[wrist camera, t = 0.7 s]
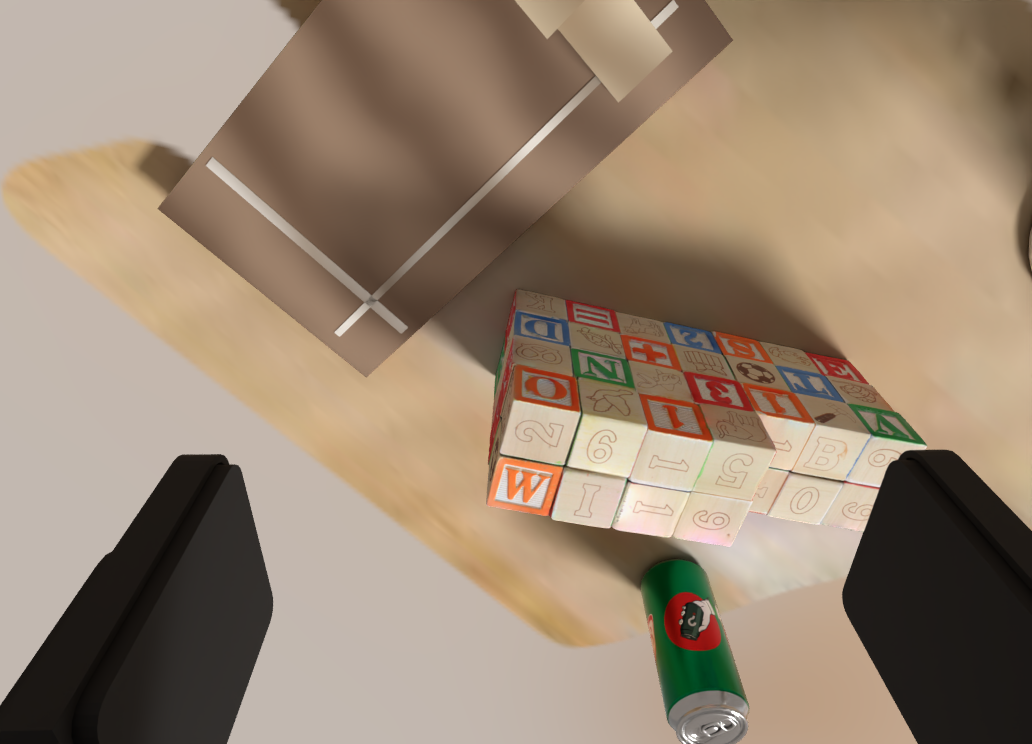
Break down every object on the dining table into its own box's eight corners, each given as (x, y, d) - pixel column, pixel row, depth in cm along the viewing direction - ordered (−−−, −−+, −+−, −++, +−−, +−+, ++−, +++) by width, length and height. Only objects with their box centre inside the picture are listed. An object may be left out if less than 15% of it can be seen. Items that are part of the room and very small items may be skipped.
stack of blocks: (851, 356, 41) (967, 486, 31) (807, 437, 44) (899, 580, 34) (513, 286, 39) (511, 400, 28) (492, 377, 42) (483, 510, 31)
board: (522, -241, 27) (523, -256, 25) (721, 37, 32) (733, 40, 31) (174, 197, 36) (156, 208, 34) (372, 361, 41) (366, 377, 40)
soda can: (626, 575, 51) (653, 727, 40) (682, 543, 49) (727, 694, 39) (663, 610, 53) (698, 764, 42) (718, 581, 51) (770, 734, 41)
